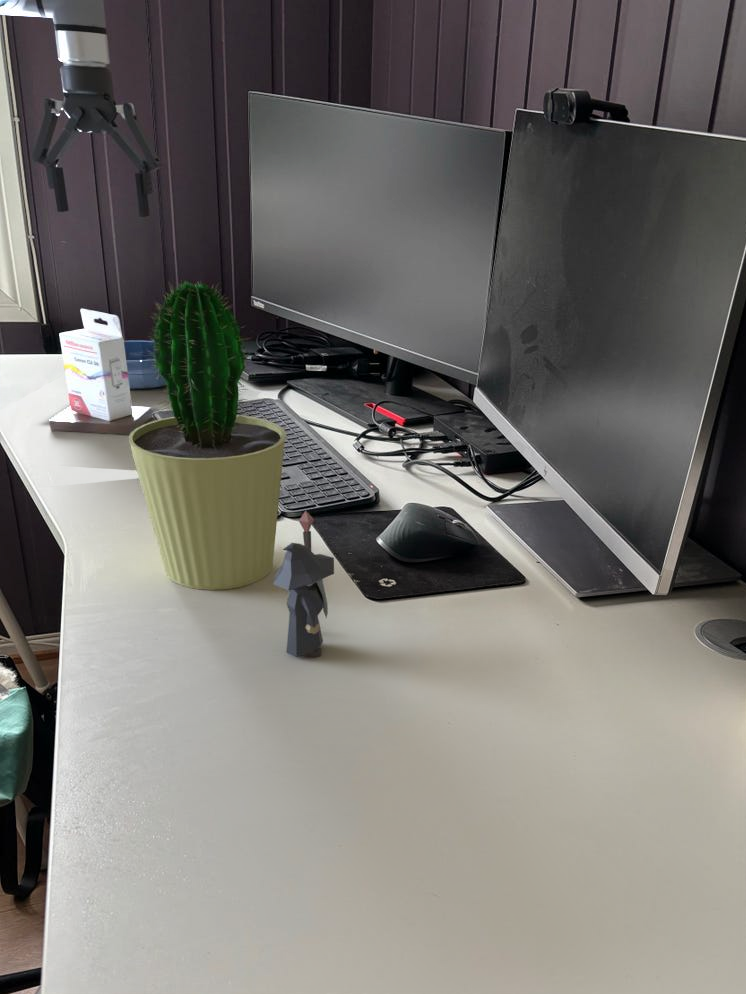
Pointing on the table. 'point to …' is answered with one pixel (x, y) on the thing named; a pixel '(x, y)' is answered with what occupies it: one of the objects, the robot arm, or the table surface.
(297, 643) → the wizard figurine
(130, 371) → the bowl
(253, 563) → the potted cactus
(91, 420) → the board
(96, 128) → the robot arm
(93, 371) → the ink cartridge box
